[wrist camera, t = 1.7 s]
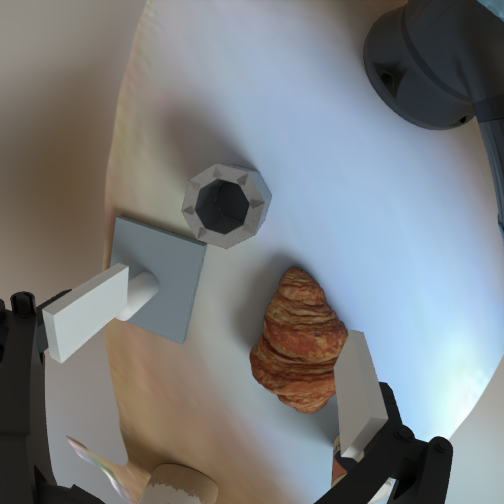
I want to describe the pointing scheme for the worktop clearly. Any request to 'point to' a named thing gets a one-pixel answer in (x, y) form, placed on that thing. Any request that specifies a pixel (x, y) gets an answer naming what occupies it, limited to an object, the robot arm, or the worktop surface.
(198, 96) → the worktop surface
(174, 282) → the shaft block
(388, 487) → the coffee cup
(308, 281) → the pastry
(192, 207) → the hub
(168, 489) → the vase
